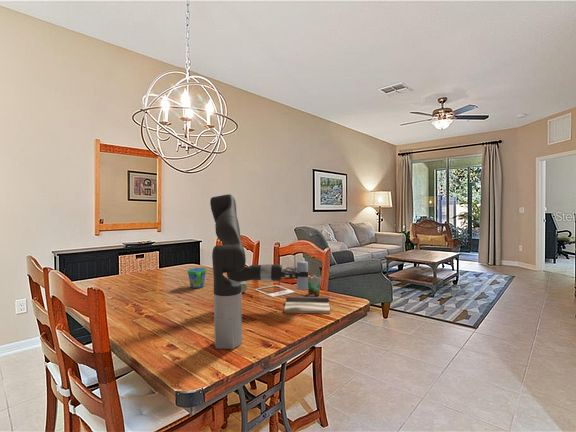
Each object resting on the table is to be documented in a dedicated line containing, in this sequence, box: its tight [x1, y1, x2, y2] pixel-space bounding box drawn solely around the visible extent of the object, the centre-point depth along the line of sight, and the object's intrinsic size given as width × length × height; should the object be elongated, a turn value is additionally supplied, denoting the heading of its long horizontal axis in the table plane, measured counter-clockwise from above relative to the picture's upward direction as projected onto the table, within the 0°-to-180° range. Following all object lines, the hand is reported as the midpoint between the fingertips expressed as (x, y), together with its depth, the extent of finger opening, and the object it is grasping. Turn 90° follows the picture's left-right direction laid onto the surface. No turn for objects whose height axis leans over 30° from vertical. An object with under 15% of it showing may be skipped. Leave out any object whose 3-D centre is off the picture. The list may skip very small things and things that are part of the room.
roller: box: [296, 260, 309, 291], centre depth 142 cm, size 5×5×12 cm
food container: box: [307, 273, 322, 297], centre depth 161 cm, size 12×6×10 cm, turn 168°
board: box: [283, 296, 331, 314], centre depth 141 cm, size 14×20×3 cm
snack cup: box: [187, 267, 207, 289], centre depth 180 cm, size 16×10×10 cm
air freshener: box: [239, 281, 249, 293], centre depth 168 cm, size 11×8×10 cm
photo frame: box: [254, 284, 296, 298], centre depth 169 cm, size 15×1×18 cm
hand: (308, 273), depth 142 cm, fingers closed on roller, 5 cm apart
